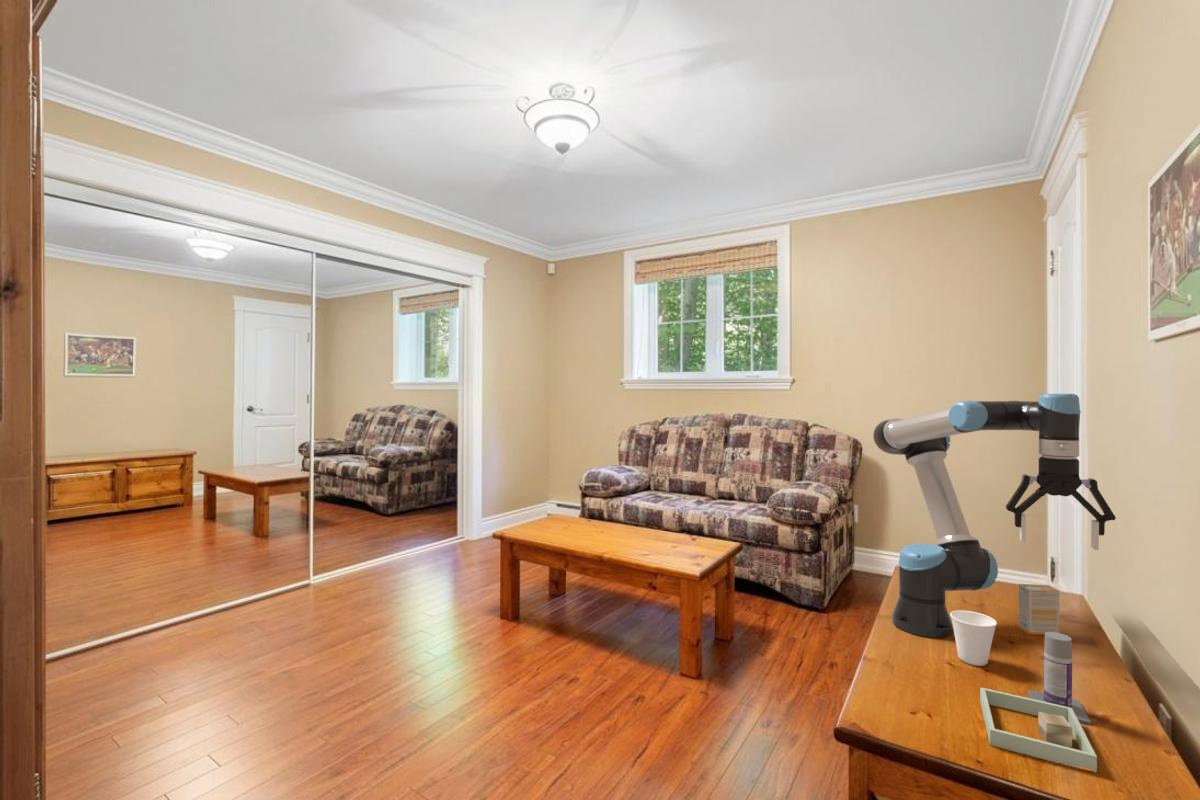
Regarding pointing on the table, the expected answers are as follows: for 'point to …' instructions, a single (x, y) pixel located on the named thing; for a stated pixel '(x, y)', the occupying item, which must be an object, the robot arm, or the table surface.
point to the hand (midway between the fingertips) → (1057, 544)
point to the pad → (1076, 706)
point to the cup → (973, 636)
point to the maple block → (1055, 729)
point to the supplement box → (1038, 609)
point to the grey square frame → (1034, 746)
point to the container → (1058, 669)
